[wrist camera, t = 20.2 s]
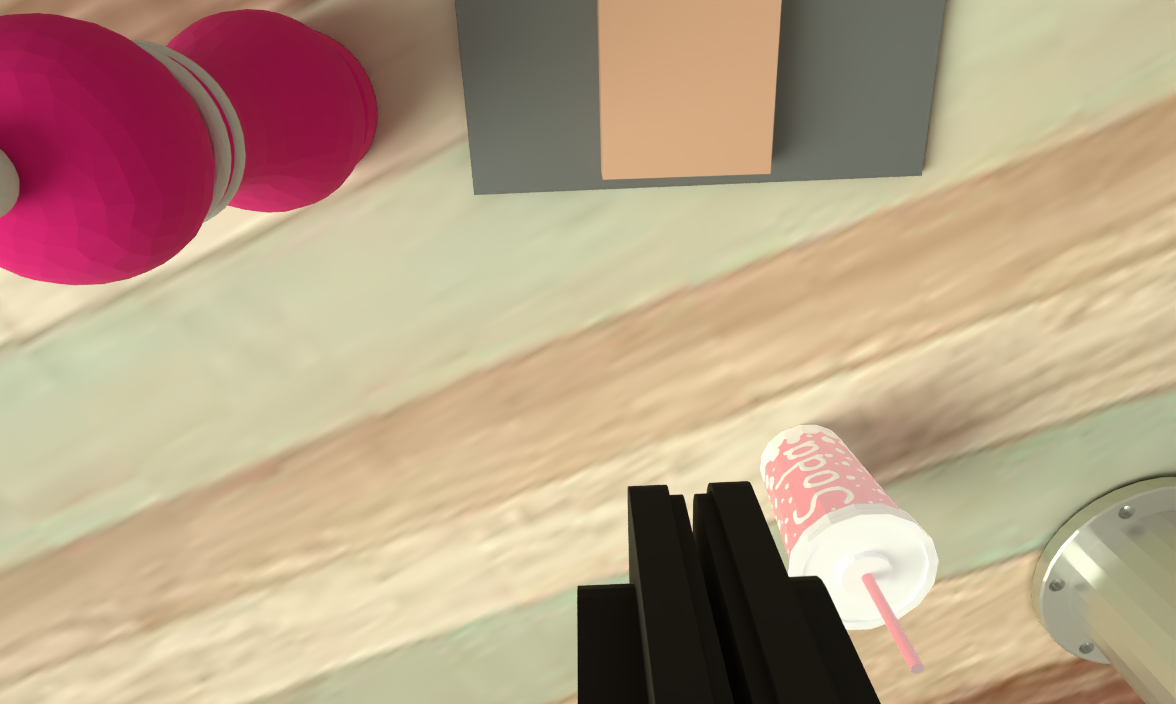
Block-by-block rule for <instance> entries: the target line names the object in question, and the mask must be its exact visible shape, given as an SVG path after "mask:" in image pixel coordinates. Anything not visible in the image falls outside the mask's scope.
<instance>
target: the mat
mask: <svg viewBox="0 0 1176 704" xmlns="http://www.w3.org/2000/svg"><path fill="white" fill-rule="evenodd" d="M455 6H456V16H457V26H458V36H459V46H460V56H461V66H462V76H463V86H464V96H465V106H466V116H467V126H468V137H469V147H470V157H471V167H472V177H473V187H474V195H483V194H506V193H529V192H553V191H576V190H599V189H622V188H645V187H668V186H692V185H715V184H738V183H761V182H784V181H808V180H831V179H854V178H877V177H900V176H922V170H923V162H924V155H925V147H926V140H927V133H928V125H929V118H930V111H931V103H932V96H933V88H934V81H935V74H936V66H937V59H938V52H939V44H940V37H941V29H942V22H943V15H944V7H945V0H782V1H781V17H780V32H779V48H778V64H777V80H776V95H775V111H774V127H773V142H772V158H771V174H751V175H722V176H694V177H666V178H638V179H610V180H603V178H602V173H601V138H600V98H599V58H598V17H597V0H455Z"/></svg>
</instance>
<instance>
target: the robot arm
mask: <svg viewBox="0 0 1176 704" xmlns="http://www.w3.org/2000/svg"><path fill="white" fill-rule="evenodd" d="M628 536H629V581H630V584H610V585H587V586H578V589H577V618H578V704H881V703H880V701H879V699H878V697H877V695H876V693H875V690H874V688H873V686H872V684H871V682H870V680H869V678H868V675H867V673H866V671H865V669H864V667H863V665H862V663H861V660H860V658H859V656H858V654H857V652H856V650H855V648H854V645H853V643H852V641H851V639H850V637H849V635H848V633H847V630H846V628H845V626H844V624H843V622H842V620H841V618H840V615H839V613H838V611H837V609H836V607H835V605H834V603H833V600H832V598H831V596H830V594H829V592H828V590H827V588H826V586H825V584H824V583H823V581H822V579H821V578H819V577H818V576H795V577H788V574H787V572H786V569H785V567H784V564H783V562H782V559H781V557H780V554H779V552H778V549H777V547H776V544H775V542H774V539H773V537H772V535H771V532H770V530H769V527H768V525H767V522H766V520H765V517H764V515H763V512H762V510H761V507H760V505H759V502H758V500H757V497H756V495H755V493H754V490H753V488H752V485H751V484H750V482H748V481H741V482H718V483H709V484H708V488H707V493H706V494H695V495H694V499H693V532H692V528H691V524H690V520H689V516H688V512H687V508H686V503H685V499H684V496H683V495H669V490H668V486H667V485H648V486H628ZM1031 597H1032V602H1033V607H1034V611H1035V613H1036V615H1037V617H1038V619H1039V621H1040V623H1041V625H1042V626H1043V627H1044V628H1045V630H1046V631H1047V632H1048V633H1049V635H1050V636H1051V637H1052V638H1053V640H1054V641H1055V642H1057V643H1058V644H1059V645H1060V646H1061V647H1062V648H1064V649H1065V650H1066V651H1068V652H1070V653H1072V654H1073V655H1075V656H1077V657H1079V658H1083V659H1086V660H1090V661H1093V662H1097V663H1105V664H1112V666H1113V667H1114V668H1115V669H1116V670H1117V671H1118V673H1119V674H1120V675H1121V676H1122V677H1123V678H1124V679H1125V681H1126V682H1127V683H1128V684H1129V685H1130V686H1131V687H1132V689H1133V690H1134V691H1135V692H1136V693H1137V694H1138V695H1139V697H1140V698H1141V699H1142V700H1143V701H1144V702H1145V703H1146V704H1176V477H1161V478H1156V479H1151V480H1146V481H1141V482H1137V483H1134V484H1131V485H1129V486H1126V487H1123V488H1120V489H1117V490H1115V491H1113V492H1111V493H1109V494H1107V495H1105V496H1103V497H1101V498H1099V499H1097V500H1095V501H1094V502H1092V503H1091V504H1089V505H1088V506H1086V507H1085V508H1084V509H1082V510H1081V511H1079V512H1078V513H1076V514H1075V515H1074V516H1073V517H1072V518H1071V519H1070V520H1069V521H1068V522H1067V523H1066V524H1064V525H1063V526H1062V527H1061V528H1060V529H1059V531H1058V532H1057V533H1056V534H1055V536H1054V537H1053V538H1052V539H1051V541H1050V542H1049V543H1048V544H1047V546H1046V548H1045V550H1044V552H1043V553H1042V555H1041V557H1040V559H1039V561H1038V563H1037V566H1036V569H1035V573H1034V576H1033V579H1032V593H1031Z"/></svg>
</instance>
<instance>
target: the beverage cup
mask: <svg viewBox="0 0 1176 704" xmlns="http://www.w3.org/2000/svg"><path fill="white" fill-rule="evenodd" d="M760 471H761V474H762V477H763V480H764V483H765V486H766V489H767V492H768V495H769V498H770V502H771V505H772V508H773V511H774V514H775V517H776V520H777V523H778V526H779V529H780V532H781V536H782V539H783V542H784V545H785V548H786V551H787V554H788V557H789V560H790V563H789V572H788V575H789V577H795V576H818V577H819V578H821V579H822V581H823V583H824V584H825V586H826V588H827V590H828V592H829V594H830V596H831V598H832V600H833V603H834V605H835V607H836V609H837V611H838V613H839V615H840V618H841V620H842V622H843V624H844V626H845V628H846V630H857V629H872V628H875V627H878V626H881V625H884V624H886V625H887V627H888V629H889V631H890V633H891V635H892V637H893V638H894V640H895V642H896V644H897V646H898V648H899V649H900V651H901V653H902V655H903V657H904V659H905V661H906V662H907V664H908V666H909V668H910V670H911V672H913V673H920V672H922V671H923V670H924V666H923V664H922V662H921V660H920V658H919V657H918V655H917V653H916V651H915V650H914V648H913V646H912V644H911V643H910V641H909V639H908V637H907V635H906V634H905V632H904V630H903V628H902V627H901V625H900V623H899V621H898V619H899V618H901V617H902V616H903V615H905V614H906V613H908V612H909V611H911V610H912V609H913V608H915V607H916V606H918V605H919V604H920V602H921V601H922V600H923V598H924V597H925V595H926V594H927V593H928V591H929V590H930V589H931V587H932V586H933V584H934V581H935V576H936V571H937V567H938V562H939V560H938V557H937V554H936V550H935V547H934V544H933V540H932V538H931V537H930V536H929V535H928V534H927V533H926V532H925V531H924V529H923V527H921V526H920V525H919V524H918V523H917V522H916V521H915V520H914V519H913V518H912V517H911V516H910V515H909V514H908V513H907V512H905V511H902V510H900V509H899V508H898V507H897V505H896V504H895V503H894V502H893V501H892V500H891V498H890V497H889V496H888V495H887V494H886V492H885V491H884V490H883V489H882V488H881V486H880V485H879V484H878V483H877V482H876V481H875V479H874V478H873V477H872V476H871V475H870V473H869V472H868V471H867V470H866V469H865V467H864V466H863V465H862V464H861V463H860V462H859V460H858V459H857V458H856V457H855V456H854V454H853V453H852V452H851V451H850V450H849V448H848V447H847V446H846V445H845V444H844V443H843V441H842V440H841V439H840V438H839V437H838V436H837V435H836V434H835V433H834V432H833V431H832V430H830V429H827V428H824V427H821V426H819V425H797V426H795V427H792V428H789V429H787V430H784V431H782V432H781V433H780V434H778V435H777V436H776V437H775V438H774V439H772V440H771V441H770V442H769V444H768V445H767V447H766V449H765V451H764V452H763V454H762V458H761V469H760Z"/></svg>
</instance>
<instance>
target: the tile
mask: <svg viewBox="0 0 1176 704" xmlns="http://www.w3.org/2000/svg"><path fill="white" fill-rule="evenodd" d="M781 1H782V0H597V17H598V58H599V98H600V138H601V173H602V178H603V180H610V179H638V178H666V177H694V176H722V175H751V174H771V158H772V142H773V127H774V111H775V95H776V80H777V64H778V48H779V32H780V17H781Z"/></svg>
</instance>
